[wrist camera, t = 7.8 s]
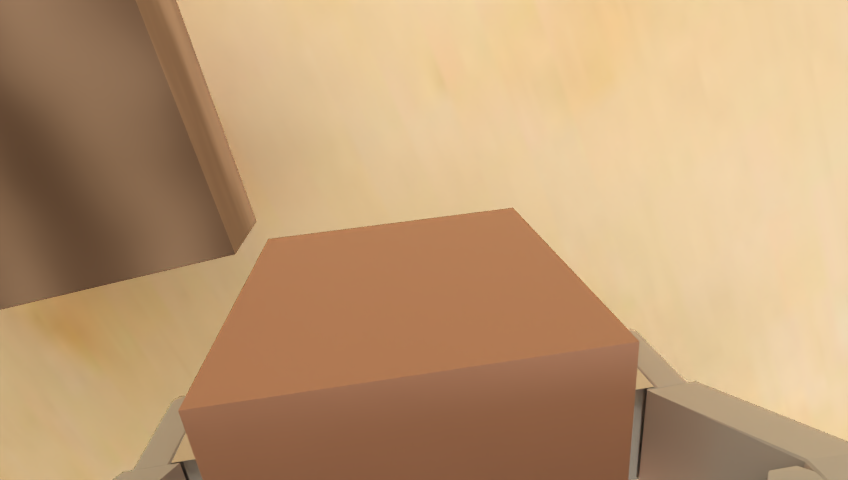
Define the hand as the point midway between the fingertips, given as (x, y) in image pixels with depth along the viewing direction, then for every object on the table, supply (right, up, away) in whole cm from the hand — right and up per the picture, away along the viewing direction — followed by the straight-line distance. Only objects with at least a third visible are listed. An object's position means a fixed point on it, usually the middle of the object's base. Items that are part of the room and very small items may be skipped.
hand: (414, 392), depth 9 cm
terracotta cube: (0, +1, +2) cm, 2 cm away
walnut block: (-16, +8, +16) cm, 24 cm away
